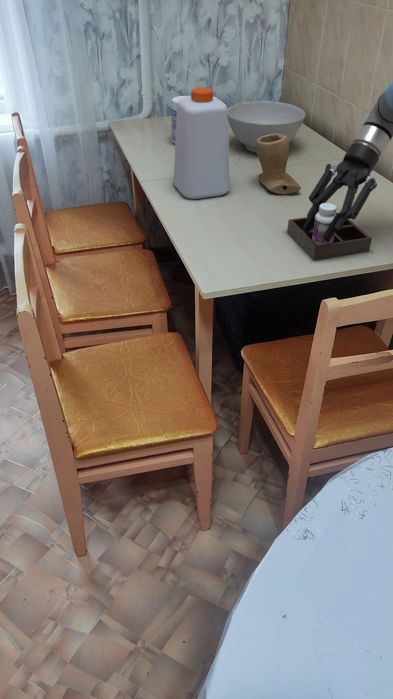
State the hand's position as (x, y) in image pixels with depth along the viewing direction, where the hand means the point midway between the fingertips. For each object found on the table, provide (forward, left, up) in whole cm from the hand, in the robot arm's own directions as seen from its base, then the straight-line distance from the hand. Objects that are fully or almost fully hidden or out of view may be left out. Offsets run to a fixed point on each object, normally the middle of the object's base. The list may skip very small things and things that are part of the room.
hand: (315, 235), depth 131 cm
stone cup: (+41, -8, -6) cm, 42 cm away
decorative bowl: (+74, -18, -6) cm, 77 cm away
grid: (+5, -7, -5) cm, 10 cm away
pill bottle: (+2, -3, -4) cm, 5 cm away
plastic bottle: (+46, +14, -6) cm, 49 cm away
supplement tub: (+87, +7, -6) cm, 88 cm away
